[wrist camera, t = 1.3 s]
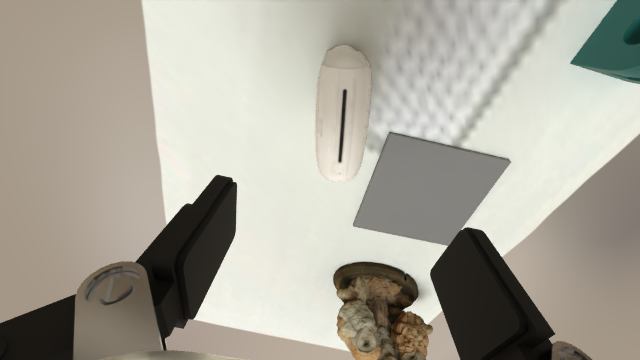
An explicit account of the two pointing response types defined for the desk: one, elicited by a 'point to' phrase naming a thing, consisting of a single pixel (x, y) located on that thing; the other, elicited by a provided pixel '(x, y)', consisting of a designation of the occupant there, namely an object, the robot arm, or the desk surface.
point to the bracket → (615, 44)
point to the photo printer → (342, 112)
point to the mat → (426, 189)
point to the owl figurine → (379, 313)
